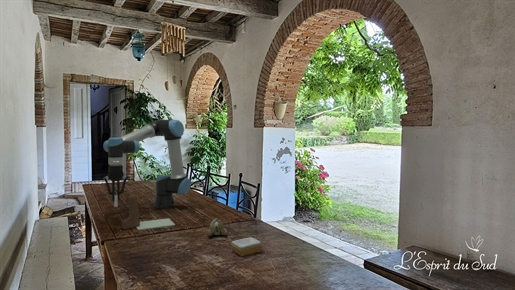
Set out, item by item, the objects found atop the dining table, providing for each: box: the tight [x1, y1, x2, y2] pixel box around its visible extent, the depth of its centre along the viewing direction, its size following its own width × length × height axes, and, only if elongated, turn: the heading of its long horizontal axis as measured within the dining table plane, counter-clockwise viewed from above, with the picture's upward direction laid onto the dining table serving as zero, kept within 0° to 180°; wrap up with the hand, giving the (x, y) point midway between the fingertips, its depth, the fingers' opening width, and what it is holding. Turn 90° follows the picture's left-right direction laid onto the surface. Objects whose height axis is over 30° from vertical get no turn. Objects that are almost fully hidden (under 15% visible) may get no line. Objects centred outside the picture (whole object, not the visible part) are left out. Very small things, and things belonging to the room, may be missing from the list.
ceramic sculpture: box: [206, 217, 228, 237], centre depth 178 cm, size 11×9×15 cm
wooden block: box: [121, 194, 141, 230], centre depth 188 cm, size 9×4×18 cm, turn 120°
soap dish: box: [229, 236, 263, 257], centre depth 153 cm, size 12×10×5 cm
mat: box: [135, 218, 176, 231], centre depth 195 cm, size 21×15×1 cm
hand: (115, 206), depth 184 cm, fingers closed
